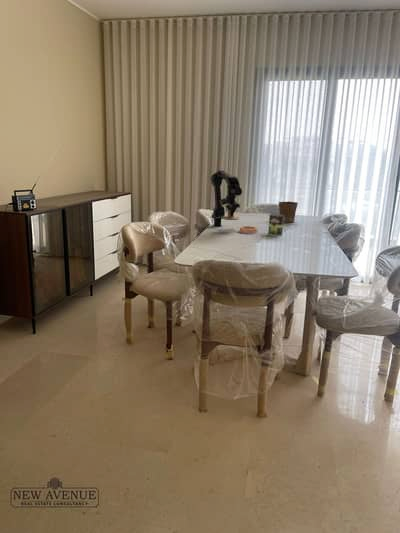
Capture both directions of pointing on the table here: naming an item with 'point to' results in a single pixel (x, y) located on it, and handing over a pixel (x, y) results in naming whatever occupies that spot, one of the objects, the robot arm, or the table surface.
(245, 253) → the table surface
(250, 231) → the bowl
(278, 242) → the table surface
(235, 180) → the robot arm
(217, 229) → the mat
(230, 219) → the lid
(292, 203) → the plant pot
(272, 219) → the coffee can
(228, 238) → the table surface
